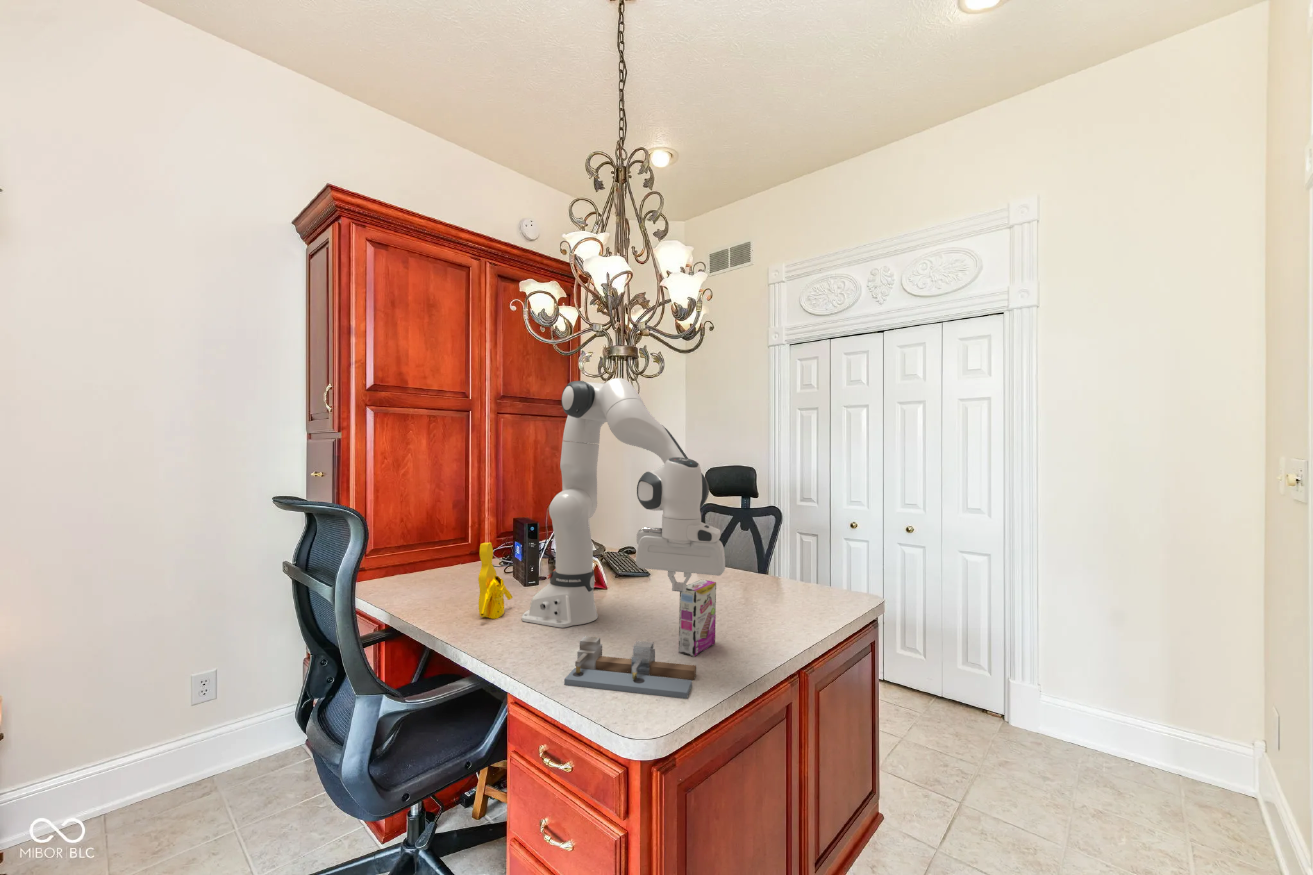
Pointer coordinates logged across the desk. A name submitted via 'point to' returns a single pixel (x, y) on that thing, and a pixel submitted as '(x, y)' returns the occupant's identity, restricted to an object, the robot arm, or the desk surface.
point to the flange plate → (629, 683)
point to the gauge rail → (625, 662)
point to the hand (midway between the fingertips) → (679, 591)
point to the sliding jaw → (642, 658)
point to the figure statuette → (490, 586)
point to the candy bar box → (697, 617)
